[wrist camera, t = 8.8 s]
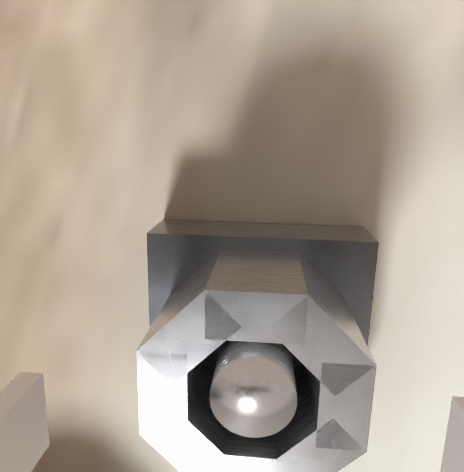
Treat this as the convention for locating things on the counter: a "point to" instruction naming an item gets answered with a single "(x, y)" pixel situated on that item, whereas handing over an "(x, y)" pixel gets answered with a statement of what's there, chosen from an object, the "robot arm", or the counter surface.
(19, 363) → the counter surface
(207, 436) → the hub
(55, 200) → the counter surface
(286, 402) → the pillow block
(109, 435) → the counter surface
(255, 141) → the counter surface
